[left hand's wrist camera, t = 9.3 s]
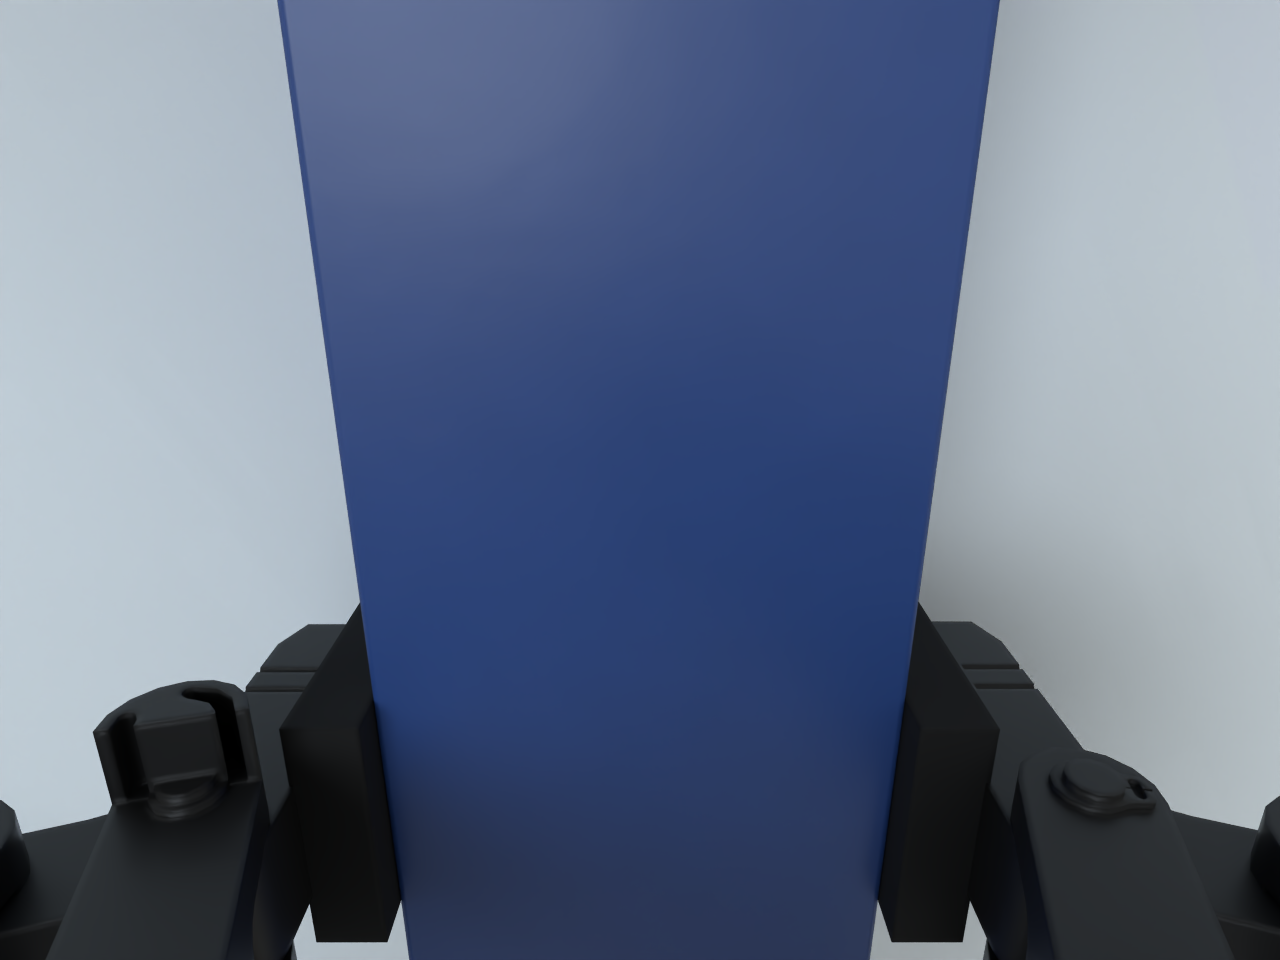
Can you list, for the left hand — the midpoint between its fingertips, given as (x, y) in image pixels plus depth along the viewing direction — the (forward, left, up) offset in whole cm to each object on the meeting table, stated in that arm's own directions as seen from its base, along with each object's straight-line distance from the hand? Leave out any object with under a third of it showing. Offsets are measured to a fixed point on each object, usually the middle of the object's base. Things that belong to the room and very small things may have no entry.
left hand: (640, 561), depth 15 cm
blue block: (+4, -1, -2) cm, 4 cm away
